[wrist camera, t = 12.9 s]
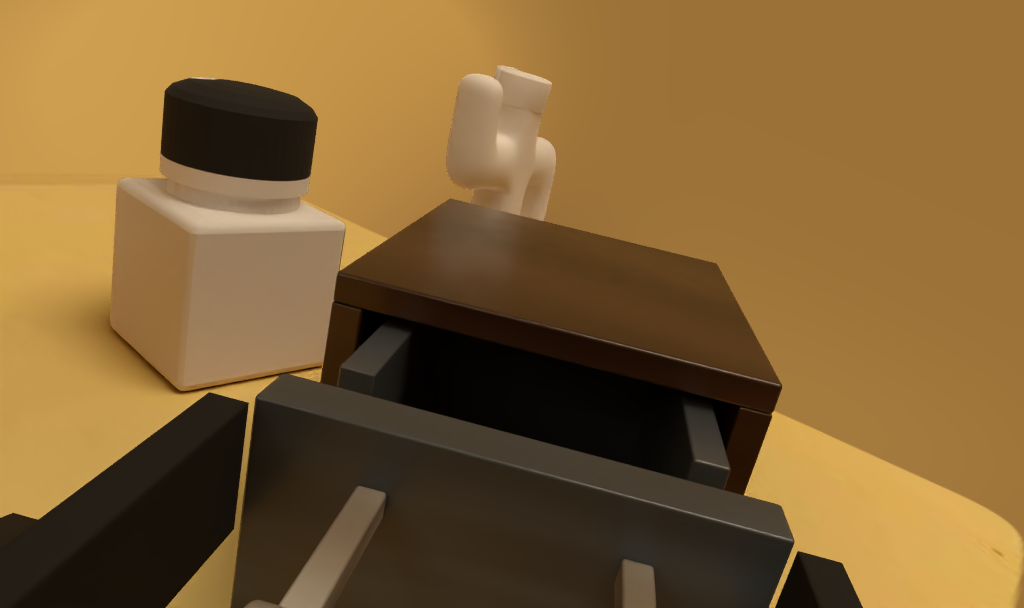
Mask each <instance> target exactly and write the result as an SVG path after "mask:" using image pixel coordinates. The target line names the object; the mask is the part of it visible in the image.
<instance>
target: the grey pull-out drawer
mask: <svg viewBox="0 0 1024 608" xmlns="http://www.w3.org/2000/svg"><path fill="white" fill-rule="evenodd" d="M729 473H730V466H729V462H728V459H727V455H726V452H725V448H724V445H723V441H722V438H721V434H720V431H719V427H718V424H717V420H716V417H715V413H714V410H713V406H712V403H711V399H710V398H708V397H704V396H700V395H696V394H692V393H688V392H684V391H681V390H677V389H673V388H669V387H665V386H661V385H657V384H653V383H650V382H646V381H642V380H638V379H634V378H630V377H626V376H622V375H618V374H615V373H611V372H607V371H603V370H599V369H595V368H591V367H587V366H584V365H580V364H576V363H572V362H568V361H564V360H560V359H556V358H553V357H549V356H545V355H541V354H537V353H533V352H529V351H525V350H522V349H518V348H514V347H510V346H506V345H502V344H498V343H494V342H490V341H487V340H483V339H479V338H475V337H471V336H467V335H463V334H459V333H456V332H452V331H448V330H444V329H440V328H436V327H432V326H428V325H425V324H421V323H417V322H413V321H409V320H405V319H401V318H397V317H393V316H390V317H389V318H388V319H387V320H386V321H385V322H384V323H383V324H382V325H381V326H380V327H379V328H378V329H377V330H376V331H375V332H374V333H373V334H372V335H371V336H370V337H369V338H368V339H367V340H366V341H365V342H364V343H363V344H362V345H361V346H360V347H359V348H358V349H357V350H356V351H355V352H354V353H353V354H352V355H351V356H350V357H349V358H348V359H347V360H346V361H345V362H344V363H343V364H342V365H341V366H340V370H339V377H338V383H337V387H335V386H331V385H327V384H323V383H320V382H316V381H312V380H308V379H305V378H301V377H297V376H293V375H290V374H286V373H284V374H282V375H280V376H279V377H278V378H277V379H276V380H275V381H273V382H272V383H271V384H270V385H269V386H267V387H266V388H265V389H264V390H263V391H262V392H260V393H259V394H258V395H257V396H256V399H255V407H254V415H253V423H252V432H251V440H250V449H249V457H248V465H247V474H246V482H245V490H244V499H243V507H242V515H241V524H240V532H239V540H238V549H237V557H236V566H235V574H234V582H233V591H232V599H231V607H230V608H769V605H770V603H771V600H772V598H773V595H774V593H775V590H776V588H777V585H778V583H779V580H780V578H781V575H782V573H783V570H784V568H785V565H786V563H787V560H788V558H789V555H790V553H791V550H792V548H793V545H794V538H793V536H792V533H791V530H790V528H789V525H788V523H787V520H786V517H785V515H784V512H783V509H782V507H781V506H780V505H778V504H774V503H770V502H766V501H763V500H759V499H755V498H751V497H748V496H744V495H740V494H736V493H733V492H729V491H725V490H724V488H725V485H726V482H727V479H728V476H729Z"/></svg>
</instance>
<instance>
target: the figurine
mask: <svg viewBox="0 0 1024 608" xmlns="http://www.w3.org/2000/svg"><path fill="white" fill-rule="evenodd" d="M551 87H552V83H551V82H550V81H548V80H546V79H544V78H541V77H538V76H535V75H532V74H528V73H525V72H521V71H519V70H518V69H516V68H511V67H506V66H502V65H498V66H497V68H496V72H495V76H494V78H492V77H490V76H487V75H482V74H469V75H467V76H465V77H464V78H463V79H462V80H461V82H460V84H459V87H458V92H457V97H456V103H455V108H454V113H453V119H452V124H451V129H450V134H449V141H448V146H447V156H446V166H447V172H448V175H449V177H450V179H451V180H452V181H453V183H454V184H456V185H457V186H459V187H461V188H463V189H469V190H472V189H474V190H473V195H472V200H471V204H475V205H479V206H483V207H487V208H491V209H495V210H499V211H503V212H507V213H511V214H516V215H520V216H524V217H528V218H532V219H536V220H540V221H543V220H544V217H545V213H546V209H547V205H548V200H549V196H550V192H551V187H552V183H553V179H554V174H555V168H556V153H555V150H554V147H553V146H552V144H551V143H550V142H549V141H547V140H546V139H543V138H541V137H537V134H538V130H539V126H540V122H541V118H542V114H543V112H544V109H545V106H546V103H547V100H548V97H549V93H550V90H551Z"/></svg>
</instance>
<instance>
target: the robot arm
mask: <svg viewBox="0 0 1024 608" xmlns="http://www.w3.org/2000/svg"><path fill="white" fill-rule="evenodd" d="M248 404H249V403H247V402H243V401H240V400H236V399H232V398H228V397H225V396H221V395H217V394H214V393H210V392H209V393H208V394H206V395H205V396H204V397H202V398H201V399H200V400H198V401H197V402H196V403H194V404H193V405H192V406H190V407H189V408H188V409H186V410H185V411H184V412H182V413H181V414H180V415H178V416H177V417H176V418H174V419H173V420H172V421H170V422H169V423H168V424H166V425H165V426H164V427H162V428H161V429H159V430H158V431H157V432H155V433H154V434H153V435H151V436H150V437H149V438H147V439H146V440H145V441H143V442H142V443H141V444H139V445H138V446H137V447H135V448H134V449H133V450H131V451H130V452H129V453H127V454H126V455H125V456H123V457H122V458H121V459H119V460H118V461H117V462H115V463H114V464H113V465H111V466H110V467H109V468H107V469H106V470H105V471H103V472H102V473H101V474H99V475H98V476H97V477H95V478H94V479H93V480H91V481H90V482H89V483H87V484H86V485H84V486H83V487H82V488H80V489H79V490H78V491H76V492H75V493H74V494H72V495H71V496H70V497H68V498H67V499H66V500H64V501H63V502H62V503H60V504H59V505H58V506H56V507H55V508H54V509H52V510H51V511H50V512H48V513H47V514H46V515H44V516H43V517H42V518H40V519H39V520H36V519H33V518H29V517H26V516H22V515H19V514H15V513H12V514H9V515H7V516H4V517H2V518H0V608H165V607H166V606H167V605H168V604H169V603H170V602H171V601H172V599H173V598H174V597H175V596H176V595H177V594H178V592H179V591H180V590H181V589H182V588H183V587H184V586H185V584H186V583H187V582H188V581H189V580H190V579H191V578H192V576H193V575H194V574H195V573H196V572H197V571H198V570H199V568H200V567H201V566H202V565H203V564H204V563H205V561H206V560H207V559H208V558H209V557H210V556H211V555H212V553H213V552H214V551H215V550H216V549H217V548H218V547H219V545H220V544H221V543H222V542H223V541H224V540H225V539H226V537H227V536H228V535H229V534H230V533H231V532H232V530H233V529H234V524H235V515H236V507H237V498H238V489H239V481H240V472H241V464H242V455H243V447H244V438H245V430H246V421H247V413H248ZM775 608H863V607H862V605H861V603H860V601H859V598H858V596H857V594H856V592H855V590H854V588H853V586H852V583H851V581H850V579H849V577H848V575H847V573H846V570H845V568H844V566H843V564H842V563H840V562H836V561H833V560H829V559H825V558H822V557H818V556H814V555H810V554H807V553H803V552H799V551H798V552H797V555H796V557H795V560H794V562H793V565H792V567H791V570H790V572H789V575H788V577H787V580H786V582H785V585H784V587H783V589H782V592H781V594H780V597H779V599H778V602H777V604H776V607H775Z"/></svg>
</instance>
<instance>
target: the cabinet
mask: <svg viewBox="0 0 1024 608" xmlns="http://www.w3.org/2000/svg"><path fill="white" fill-rule="evenodd" d="M333 298H334V302H333V303H332V308H331V314H330V321H329V328H328V334H327V341H326V348H325V355H324V361H323V368H322V375H321V381H320V383H323V384H327V385H331V386H335V387H337V383H338V377H339V370H340V366H341V365H342V364H343V363H344V362H345V361H346V360H347V359H348V358H349V357H350V356H351V355H352V354H353V353H354V352H355V351H356V350H357V349H358V348H359V347H360V346H361V345H362V344H363V343H364V342H365V341H366V340H367V339H368V338H369V337H370V336H371V335H372V334H373V333H374V332H375V331H376V330H377V329H378V328H379V327H380V326H381V325H382V324H383V323H384V322H385V321H386V320H387V319H388V318H389V317H390V316H393V317H397V318H401V319H405V320H409V321H413V322H417V323H421V324H425V325H428V326H432V327H436V328H440V329H444V330H448V331H452V332H456V333H459V334H463V335H467V336H471V337H475V338H479V339H483V340H487V341H490V342H494V343H498V344H502V345H506V346H510V347H514V348H518V349H522V350H525V351H529V352H533V353H537V354H541V355H545V356H549V357H553V358H556V359H560V360H564V361H568V362H572V363H576V364H580V365H584V366H587V367H591V368H595V369H599V370H603V371H607V372H611V373H615V374H618V375H622V376H626V377H630V378H634V379H638V380H642V381H646V382H650V383H653V384H657V385H661V386H665V387H669V388H673V389H677V390H681V391H684V392H688V393H692V394H696V395H700V396H704V397H708V398H710V399H711V403H712V406H713V410H714V413H715V417H716V420H717V424H718V427H719V431H720V434H721V438H722V441H723V445H724V448H725V452H726V455H727V459H728V462H729V466H730V473H729V476H728V479H727V482H726V485H725V488H724V490H725V491H729V492H733V493H736V494H740V495H744V493H745V490H746V487H747V485H748V482H749V479H750V476H751V474H752V471H753V468H754V465H755V463H756V460H757V457H758V454H759V452H760V449H761V446H762V443H763V441H764V438H765V435H766V432H767V430H768V427H769V424H770V421H771V419H772V414H771V413H772V412H773V411H774V409H775V406H776V403H777V400H778V398H779V395H780V392H781V389H782V384H781V383H780V381H779V379H778V377H777V375H776V373H775V371H774V370H773V368H772V366H771V364H770V362H769V360H768V359H767V356H766V355H765V353H764V351H763V349H762V347H761V345H760V344H759V342H758V340H757V338H756V336H755V334H754V332H753V330H752V329H751V327H750V325H749V323H748V321H747V319H746V317H745V316H744V314H743V312H742V310H741V308H740V306H739V304H738V303H737V301H736V299H735V297H734V295H733V293H732V291H731V290H730V288H729V286H728V284H727V282H726V280H725V278H724V276H723V275H722V273H721V271H720V269H719V267H718V265H717V264H716V263H712V262H708V261H704V260H700V259H695V258H691V257H687V256H683V255H679V254H675V253H671V252H667V251H663V250H658V249H655V248H651V247H646V246H642V245H638V244H634V243H630V242H626V241H622V240H618V239H614V238H610V237H605V236H601V235H597V234H593V233H589V232H585V231H581V230H577V229H573V228H569V227H565V226H560V225H556V224H552V223H548V222H544V221H540V220H536V219H532V218H528V217H524V216H520V215H516V214H511V213H507V212H503V211H499V210H495V209H491V208H487V207H483V206H479V205H475V204H471V203H466V202H462V201H458V200H454V199H449V200H447V201H446V202H444V203H443V204H441V205H440V206H438V207H437V208H435V209H433V210H432V211H431V212H429V213H428V214H426V215H424V216H423V217H421V218H420V219H418V220H417V221H416V222H414V223H412V224H411V225H409V226H408V227H406V228H405V229H403V230H402V231H400V232H399V233H397V234H396V235H394V236H393V237H391V238H389V239H388V240H386V241H385V242H383V243H382V244H380V245H379V246H377V247H376V248H374V249H373V250H371V251H370V252H368V253H367V254H365V255H364V256H362V257H361V258H359V259H358V260H356V261H354V262H353V263H351V264H350V265H348V266H347V267H345V268H344V269H342V270H341V271H339V272H338V273H337V277H336V284H335V291H334V297H333Z"/></svg>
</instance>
